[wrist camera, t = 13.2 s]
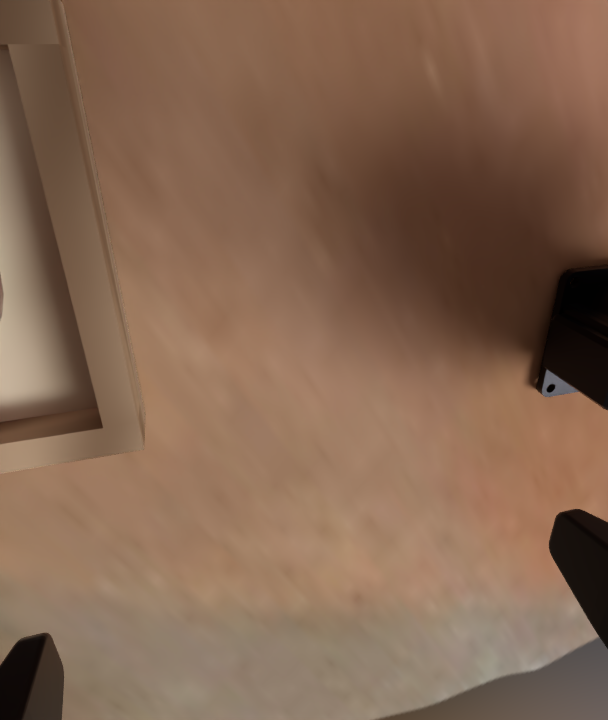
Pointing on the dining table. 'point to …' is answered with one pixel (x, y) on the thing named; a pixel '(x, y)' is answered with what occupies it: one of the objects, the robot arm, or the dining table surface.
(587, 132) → the dining table surface
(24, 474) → the dining table surface
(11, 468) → the birch tray
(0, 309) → the soda can
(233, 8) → the dining table surface
